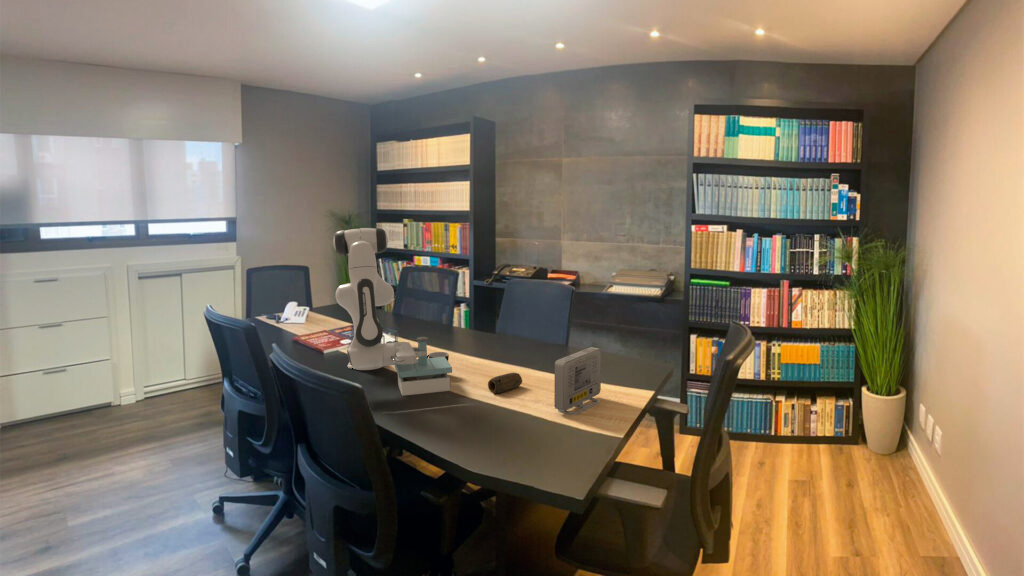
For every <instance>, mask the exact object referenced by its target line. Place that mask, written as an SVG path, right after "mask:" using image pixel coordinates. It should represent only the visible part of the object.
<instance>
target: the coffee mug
mask: <svg viewBox="0 0 1024 576" xmlns="http://www.w3.org/2000/svg"><path fill="white" fill-rule="evenodd" d="M436 357H445V358H446V359H447V361H448V362H449V357H450V354H449V353H448V352H446V351H445V352H444V351H434V352H431V353H429V354H427V358H428V359H429V358H436Z"/></svg>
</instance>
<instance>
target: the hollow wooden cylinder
mask: <svg viewBox="0 0 1024 576" xmlns="http://www.w3.org/2000/svg"><path fill="white" fill-rule="evenodd" d="M521 384H523V378H522V376H521V374H520V373H517V372H509V373H505V374H500V375H496V376H494V377H492V378H491V379H489V380H488V382H487V387H488V390H489V392H491V393H493V394H501V393H504V392H507V391H510V390H513V389H516V388H517V387H519V386H522V385H521Z"/></svg>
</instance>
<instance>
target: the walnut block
mask: <svg viewBox="0 0 1024 576" xmlns="http://www.w3.org/2000/svg"><path fill="white" fill-rule="evenodd" d="M414 380H417V378H415V377H414V376H413V377H404V381H414Z"/></svg>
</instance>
